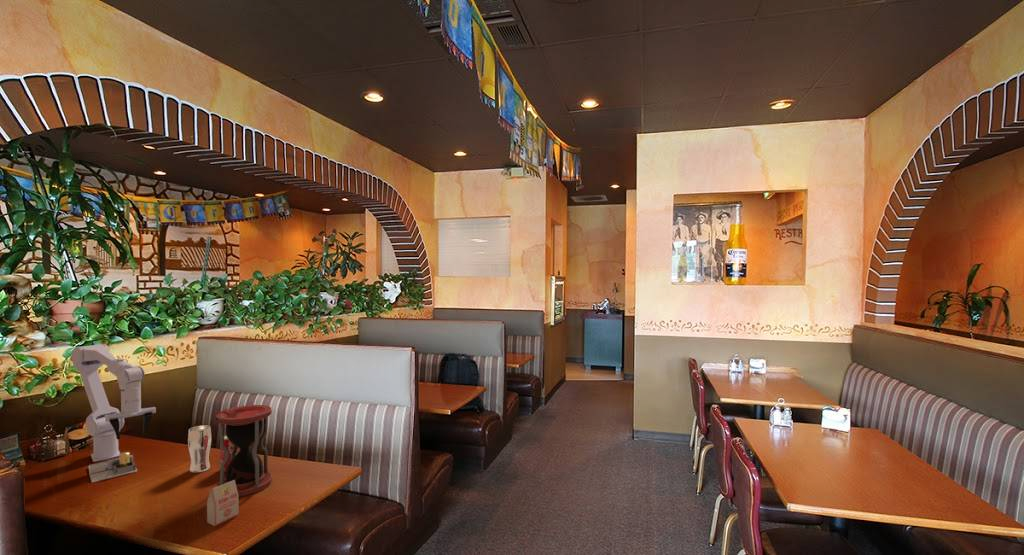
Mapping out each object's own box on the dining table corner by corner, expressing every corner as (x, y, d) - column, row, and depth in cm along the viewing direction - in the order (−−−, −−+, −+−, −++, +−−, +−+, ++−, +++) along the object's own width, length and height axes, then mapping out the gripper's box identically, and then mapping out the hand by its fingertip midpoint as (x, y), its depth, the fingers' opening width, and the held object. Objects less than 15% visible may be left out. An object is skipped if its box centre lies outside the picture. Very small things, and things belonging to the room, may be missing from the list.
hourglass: (255, 471, 165) (254, 401, 164) (282, 482, 156) (281, 408, 156) (206, 489, 151) (205, 413, 150) (233, 502, 142) (232, 422, 142)
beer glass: (202, 473, 163) (202, 431, 163) (183, 473, 163) (183, 431, 163) (215, 465, 170) (215, 424, 169) (197, 465, 170) (196, 424, 170)
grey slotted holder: (88, 468, 167) (88, 458, 167) (130, 458, 176) (130, 449, 176) (90, 475, 161) (90, 465, 160) (134, 465, 169) (134, 455, 169)
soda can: (247, 465, 170) (247, 432, 170) (234, 473, 163) (233, 440, 163) (229, 464, 170) (229, 432, 170) (215, 472, 163) (215, 439, 163)
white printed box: (207, 522, 131) (206, 487, 131) (231, 511, 137) (230, 478, 137) (214, 526, 129) (214, 490, 129) (238, 514, 135) (238, 481, 135)
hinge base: (89, 474, 162) (89, 465, 162) (133, 464, 170) (133, 455, 170) (91, 483, 155) (91, 472, 155) (137, 471, 164) (137, 462, 164)
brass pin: (118, 470, 164) (118, 453, 164) (128, 467, 166) (128, 451, 166) (120, 472, 162) (120, 455, 162) (130, 469, 164) (130, 453, 164)
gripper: (106, 406, 164) (107, 443, 164) (157, 398, 175) (157, 433, 175) (104, 402, 169) (104, 439, 169) (153, 394, 180) (154, 429, 180)
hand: (131, 435), depth 172 cm, fingers open, 7 cm apart
